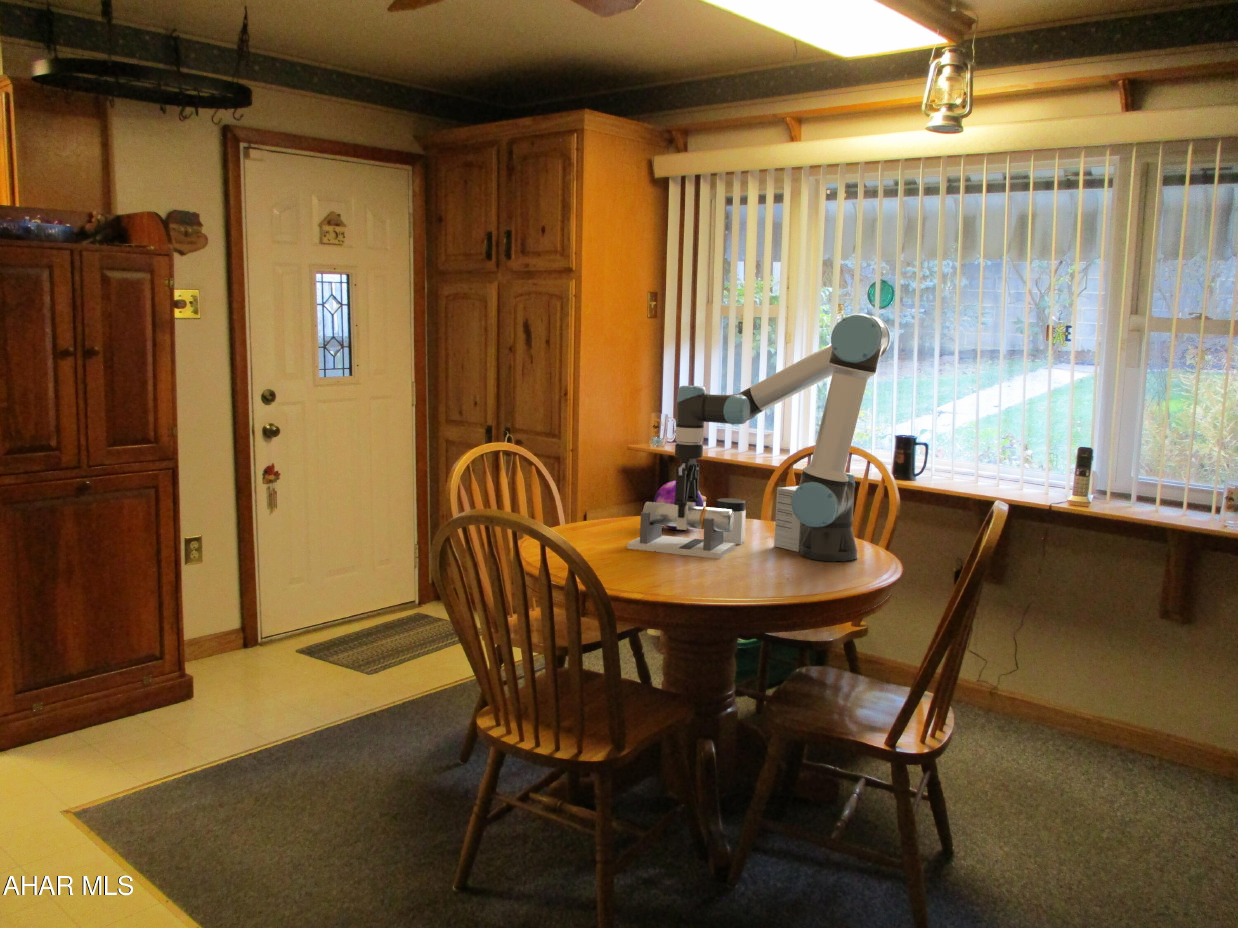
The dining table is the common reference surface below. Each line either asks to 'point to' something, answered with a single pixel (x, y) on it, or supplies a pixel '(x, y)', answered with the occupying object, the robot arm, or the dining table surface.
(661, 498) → the decorative orb
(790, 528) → the supplement box
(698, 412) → the robot arm
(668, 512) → the steel tube
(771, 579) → the dining table surface
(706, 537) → the cradle stand
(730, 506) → the jar
